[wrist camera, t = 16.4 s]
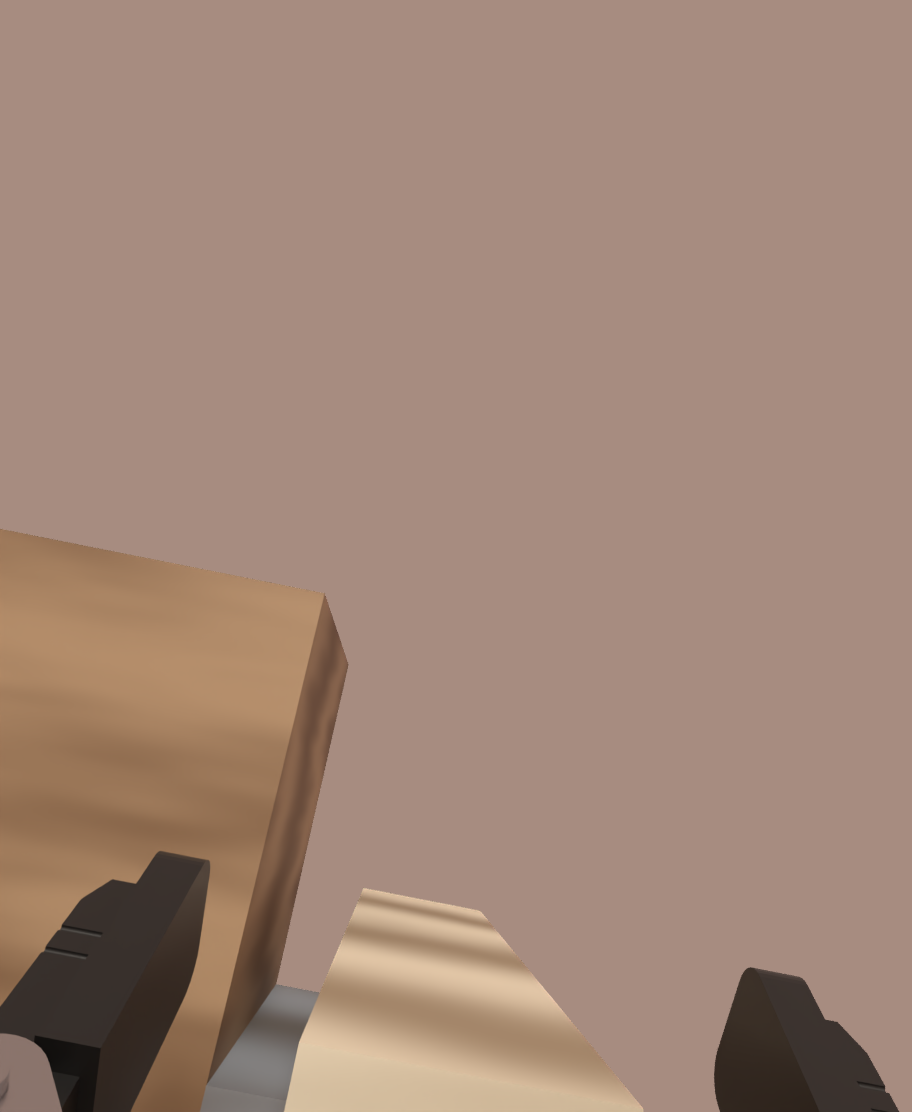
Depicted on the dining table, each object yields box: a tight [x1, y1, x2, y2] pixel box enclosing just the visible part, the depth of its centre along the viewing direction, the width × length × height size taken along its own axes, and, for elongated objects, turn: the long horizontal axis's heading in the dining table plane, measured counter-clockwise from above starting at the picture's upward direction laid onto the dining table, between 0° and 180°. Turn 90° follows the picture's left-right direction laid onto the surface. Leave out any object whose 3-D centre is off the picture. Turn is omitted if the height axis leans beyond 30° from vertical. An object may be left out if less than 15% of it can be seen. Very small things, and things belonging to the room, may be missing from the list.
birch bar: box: [284, 888, 644, 1112], centre depth 19 cm, size 20×4×3 cm, turn 4°
